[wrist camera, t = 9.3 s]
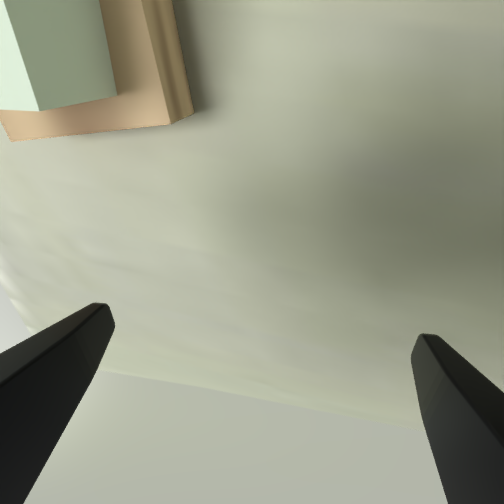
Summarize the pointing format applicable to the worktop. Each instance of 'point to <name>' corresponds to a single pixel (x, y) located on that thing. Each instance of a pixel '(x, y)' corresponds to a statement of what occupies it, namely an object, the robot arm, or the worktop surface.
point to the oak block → (123, 78)
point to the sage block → (53, 54)
